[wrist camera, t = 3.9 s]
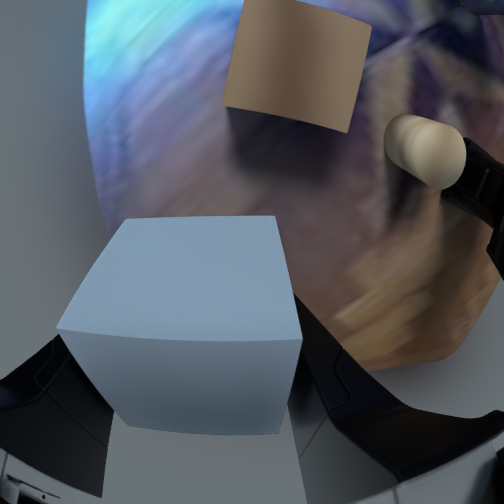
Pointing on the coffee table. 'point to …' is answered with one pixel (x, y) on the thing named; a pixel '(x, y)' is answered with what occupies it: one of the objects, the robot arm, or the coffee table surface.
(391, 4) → the coffee table surface
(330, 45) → the tan block
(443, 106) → the coffee table surface
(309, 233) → the coffee table surface
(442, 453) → the robot arm
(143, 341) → the blue cube
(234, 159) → the coffee table surface
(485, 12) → the flask
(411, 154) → the beech cylinder
